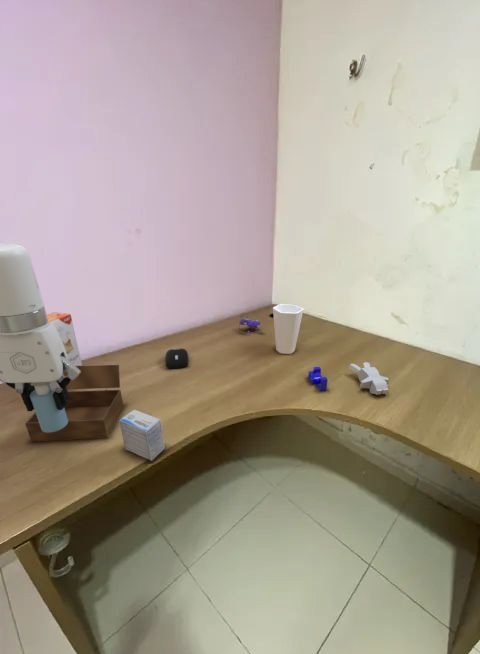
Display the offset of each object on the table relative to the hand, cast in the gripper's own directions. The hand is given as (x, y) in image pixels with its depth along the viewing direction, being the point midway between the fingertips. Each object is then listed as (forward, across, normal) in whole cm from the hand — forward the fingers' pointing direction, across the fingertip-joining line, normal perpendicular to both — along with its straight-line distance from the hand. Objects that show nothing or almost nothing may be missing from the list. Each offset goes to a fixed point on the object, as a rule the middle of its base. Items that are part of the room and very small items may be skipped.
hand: (48, 405), depth 61 cm
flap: (+6, -2, +20) cm, 21 cm away
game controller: (+15, +45, +71) cm, 85 cm away
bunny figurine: (+15, +80, +26) cm, 85 cm away
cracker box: (+15, -15, +31) cm, 37 cm away
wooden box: (+14, -2, +13) cm, 20 cm away
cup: (+15, +57, +52) cm, 79 cm away
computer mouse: (+15, +17, +45) cm, 50 cm away
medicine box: (+15, +16, +2) cm, 22 cm away
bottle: (+5, 0, 0) cm, 5 cm away
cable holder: (+15, +63, +27) cm, 70 cm away
